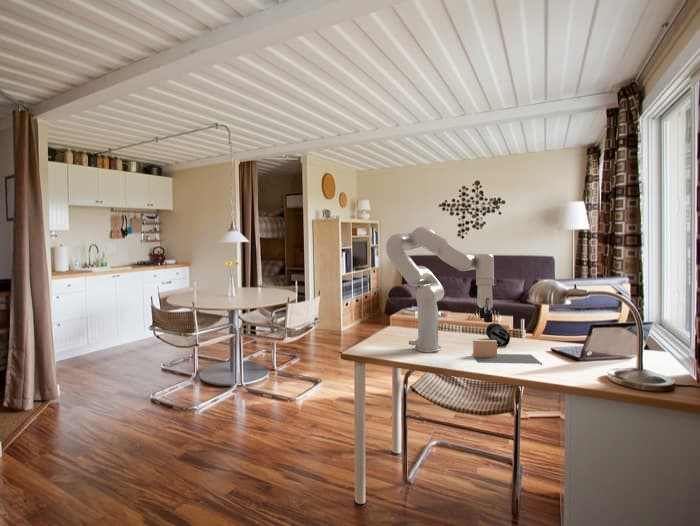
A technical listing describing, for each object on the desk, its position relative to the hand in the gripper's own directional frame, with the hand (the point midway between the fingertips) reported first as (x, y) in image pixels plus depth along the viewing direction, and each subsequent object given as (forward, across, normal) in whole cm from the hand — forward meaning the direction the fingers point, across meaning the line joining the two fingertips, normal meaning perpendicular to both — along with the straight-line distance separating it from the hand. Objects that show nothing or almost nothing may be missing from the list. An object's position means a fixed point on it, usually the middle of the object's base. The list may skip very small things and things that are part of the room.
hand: (485, 320), depth 181 cm
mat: (+17, +3, +7) cm, 19 cm away
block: (+16, 0, -1) cm, 16 cm away
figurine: (+17, -28, +11) cm, 35 cm away
